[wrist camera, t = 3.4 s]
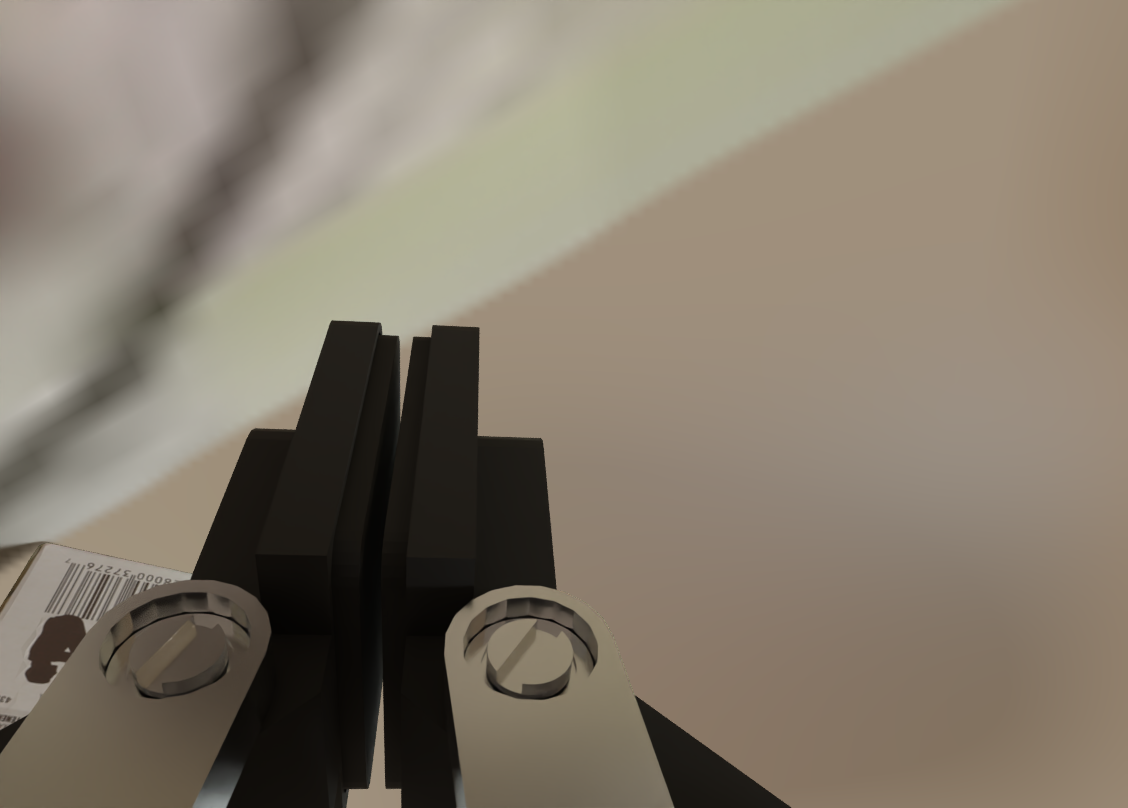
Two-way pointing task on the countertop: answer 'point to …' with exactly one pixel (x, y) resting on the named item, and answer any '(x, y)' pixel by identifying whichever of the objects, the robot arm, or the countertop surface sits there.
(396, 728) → the robot arm
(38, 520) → the countertop surface
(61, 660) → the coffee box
